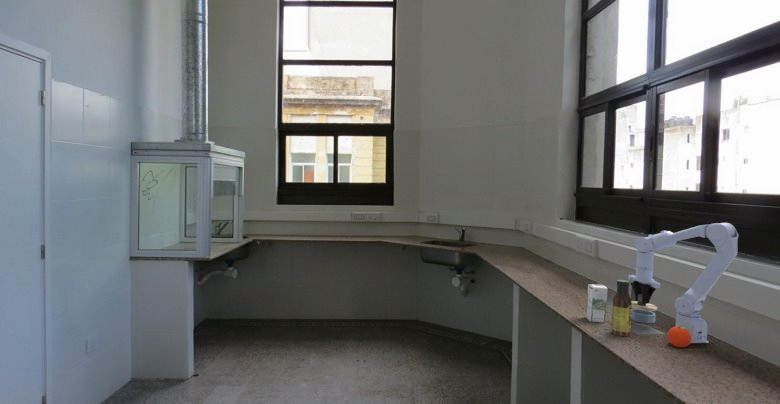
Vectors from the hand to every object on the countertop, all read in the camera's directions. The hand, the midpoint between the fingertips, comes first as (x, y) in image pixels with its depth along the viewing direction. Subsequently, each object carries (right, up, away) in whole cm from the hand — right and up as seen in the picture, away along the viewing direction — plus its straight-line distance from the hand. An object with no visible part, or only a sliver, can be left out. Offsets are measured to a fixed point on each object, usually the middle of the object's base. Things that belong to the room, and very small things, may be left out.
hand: (642, 302), depth 173 cm
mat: (-3, -10, -5) cm, 11 cm away
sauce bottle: (-14, -10, -11) cm, 21 cm away
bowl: (+4, -9, +8) cm, 13 cm away
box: (+11, -9, +23) cm, 27 cm away
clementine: (+1, -11, -22) cm, 24 cm away
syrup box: (-16, -9, +5) cm, 19 cm away
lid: (0, -2, 0) cm, 2 cm away
